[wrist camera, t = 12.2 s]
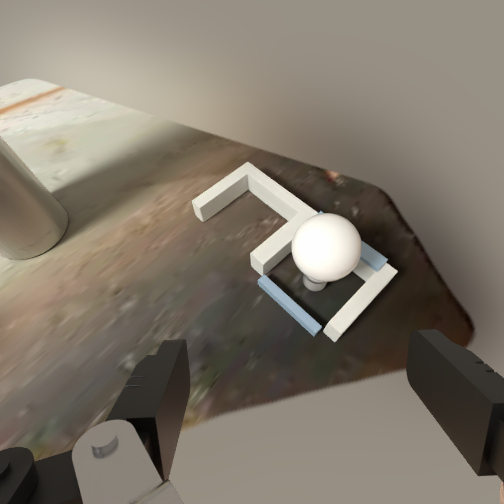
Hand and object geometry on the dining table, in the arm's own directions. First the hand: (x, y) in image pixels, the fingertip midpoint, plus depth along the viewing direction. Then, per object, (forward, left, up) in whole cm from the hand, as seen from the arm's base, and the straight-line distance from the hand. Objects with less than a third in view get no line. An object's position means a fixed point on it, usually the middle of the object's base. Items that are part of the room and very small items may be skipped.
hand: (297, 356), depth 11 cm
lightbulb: (-6, +12, -21) cm, 25 cm away
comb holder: (-11, +12, -21) cm, 27 cm away
